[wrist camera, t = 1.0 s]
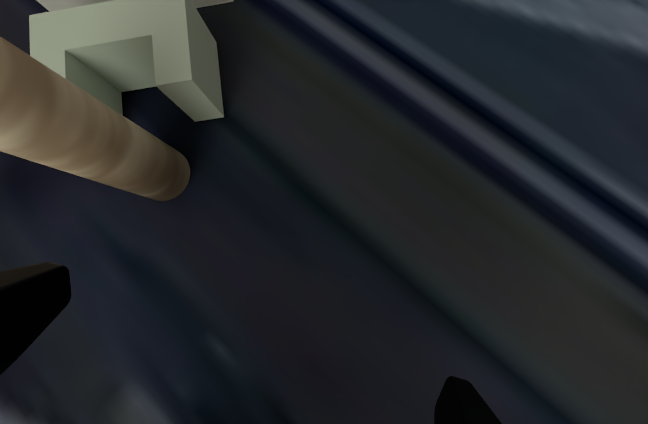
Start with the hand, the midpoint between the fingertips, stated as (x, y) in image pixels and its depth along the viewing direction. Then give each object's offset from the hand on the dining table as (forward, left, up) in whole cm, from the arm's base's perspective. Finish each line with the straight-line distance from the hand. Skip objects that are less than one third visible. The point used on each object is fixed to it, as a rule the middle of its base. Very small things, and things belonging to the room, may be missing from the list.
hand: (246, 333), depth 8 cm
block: (-2, +17, -14) cm, 22 cm away
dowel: (-4, +12, -14) cm, 19 cm away
